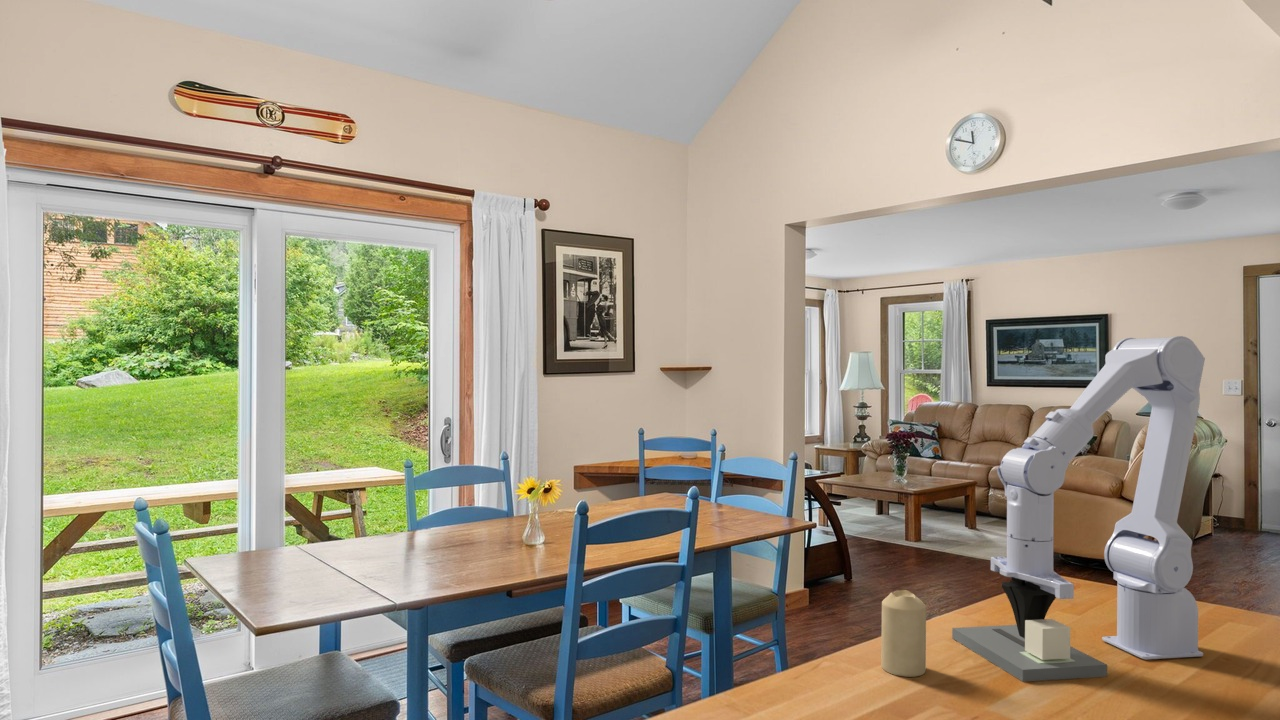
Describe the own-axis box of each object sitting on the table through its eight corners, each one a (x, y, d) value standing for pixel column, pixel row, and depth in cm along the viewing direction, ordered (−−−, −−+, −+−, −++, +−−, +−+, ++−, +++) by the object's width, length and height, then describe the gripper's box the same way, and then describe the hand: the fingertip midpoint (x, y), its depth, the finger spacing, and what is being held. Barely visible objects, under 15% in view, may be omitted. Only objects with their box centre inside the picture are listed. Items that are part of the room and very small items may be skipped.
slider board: (1026, 634, 118) (1026, 623, 118) (1107, 676, 102) (1107, 663, 102) (952, 638, 116) (952, 627, 116) (1022, 681, 100) (1022, 668, 100)
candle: (928, 679, 101) (929, 600, 101) (883, 675, 102) (884, 597, 102) (922, 663, 106) (922, 588, 106) (879, 659, 107) (879, 585, 107)
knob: (1051, 648, 107) (1052, 618, 107) (1070, 658, 103) (1070, 627, 103) (1024, 650, 106) (1025, 620, 106) (1042, 659, 102) (1042, 628, 102)
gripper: (971, 527, 115) (971, 621, 115) (1039, 550, 100) (1038, 658, 100) (1015, 525, 116) (1015, 619, 116) (1088, 548, 102) (1087, 655, 102)
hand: (1029, 637), depth 108 cm, fingers closed
